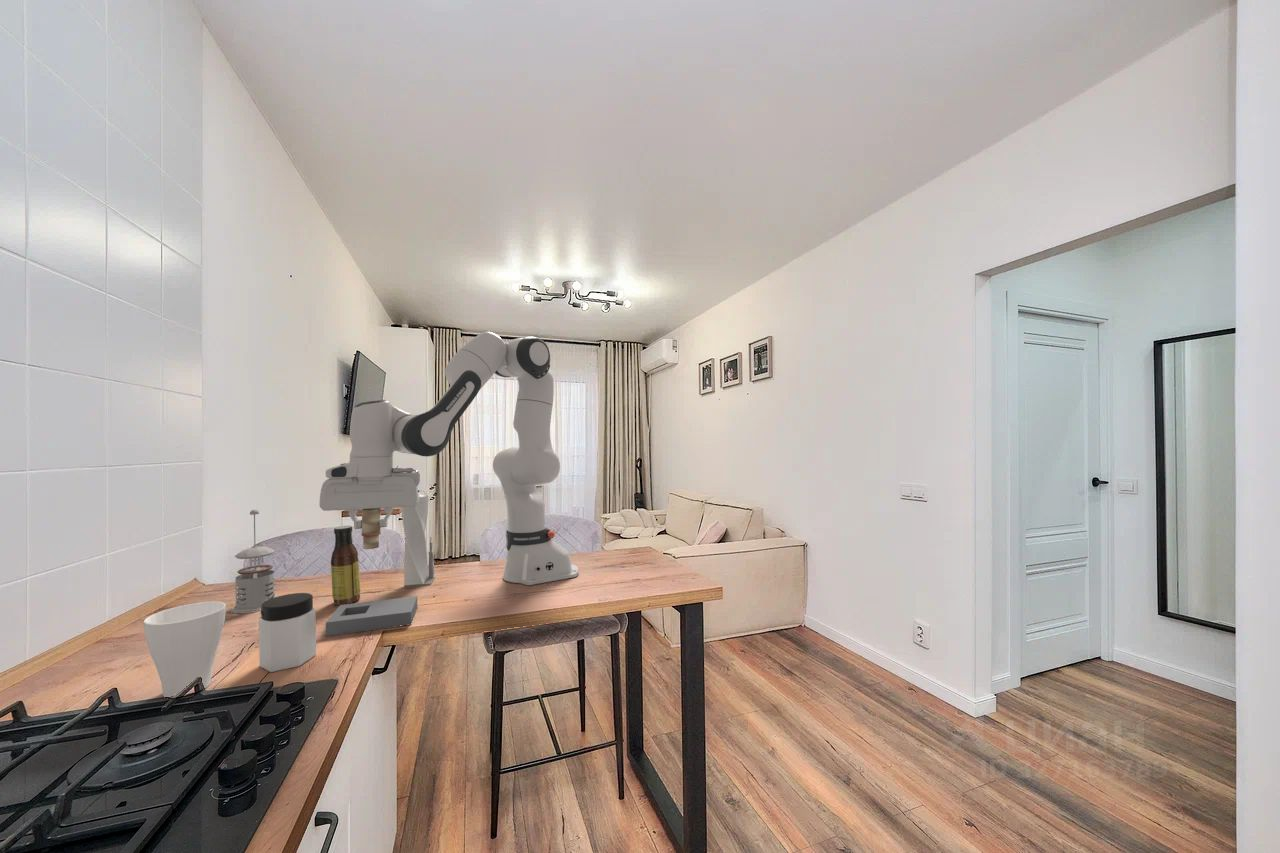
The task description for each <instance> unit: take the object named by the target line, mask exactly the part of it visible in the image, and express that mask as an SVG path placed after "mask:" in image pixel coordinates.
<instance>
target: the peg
mask: <svg viewBox="0 0 1280 853" xmlns="http://www.w3.org/2000/svg"><path fill="white" fill-rule="evenodd" d="M381 511H382V508H375V509H361V520H362V529H361V537H362V538H363V539H362V549H363V550H374V549H378V548H379V547H380V541H379V540H380V535H381V528H379V525H380V523H379V520H380V519H381Z"/></svg>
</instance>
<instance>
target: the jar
mask: <svg viewBox="0 0 1280 853" xmlns="http://www.w3.org/2000/svg"><path fill="white" fill-rule="evenodd" d="M313 597H314V596H313V594H311V593H309V592H308V593H307V592H295V593H287V594H283V595H278V596H275V598H272V599H269V600H267V601H265V602H264V603H263V604H262V605H261V611H260V615H261V617H258V642H259V643H258V645H259V649H258V650H259V651H258V653H259V654H258V655H259V656H258V657H259V660H258V661H259V667H260V668H263V669H264V670H266V671H268V672H269V673H275V672H280V671H283V670H288V669H293V668H298V667H300V666H302V665H303V664H305V663H306V662H308V661H309V660H311V659H312V658H314V657H316V655H317V638H316V637H317V634H316V629H317V628H316V627H317V626H316V623H317V622H316V621H317V620H316V608H314V602H313V599H314V598H313Z"/></svg>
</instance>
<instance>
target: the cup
mask: <svg viewBox="0 0 1280 853" xmlns="http://www.w3.org/2000/svg"><path fill="white" fill-rule="evenodd" d="M226 611H227V604H226V603H224V602H223V601H201V602H195V603H189V604H184V605H178V606H175V607H171V608H167V609H164V610H161V611H158V612H156V613H153V614H151V615H149V616H148V617H146V618H145V619H144V620H143V629H144V631H143V632H144V637H145V641H146V644H147V645H146V646H147V648H148V650H149V654H150V657H151V659H152V661H153V664H154V666H155V667H156V670H157V674H158V677H159V680H160V684H161V690H162V696H163V697H164V698H165V697H171V696H174V695H175V694H178V693H179V692H181V691H182V690H183V689H184V688H186V686H188V685H189V684H190V683H191V682H193V681H194V680H195V679H196V678H197V677H201V678H202V683H203V685H204V687H205V689H206V688H208V687H209V686H210V685H211V683H212V674H213V668H214V663H215V660H216V659H215V658H216V655H217V651H218V648H219V645H220V642H221V638H222V635H223V629H224V627H225V621H226Z"/></svg>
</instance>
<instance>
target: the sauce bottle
mask: <svg viewBox="0 0 1280 853" xmlns="http://www.w3.org/2000/svg"><path fill="white" fill-rule="evenodd" d="M352 532H353V526H352V525H340V526H336V527H334V529H333V534H334V536H335V537H334V540H335V541H334V544H335V545H334V547H333V551H332V553H331V557H330V558H331V559H330V570H331V588H332V592H331V593H332V595H331V596H332V599H333V603H334V604H335V605H337V606H340V605H344V604H349V603H350V604H353V602H354V603H357V602H358V601H359V600H360V598H361V594H360V593H361V581H360V563H359V562H360V561H359V553H358V550H357V547H356V546H355V544H354V543H353V535H352Z"/></svg>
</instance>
